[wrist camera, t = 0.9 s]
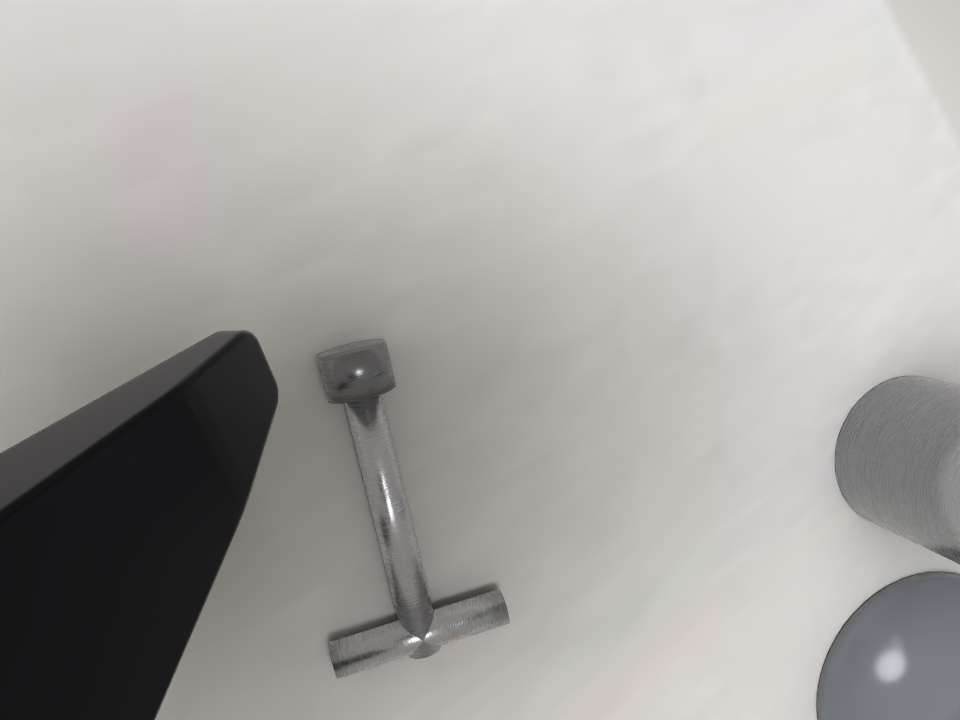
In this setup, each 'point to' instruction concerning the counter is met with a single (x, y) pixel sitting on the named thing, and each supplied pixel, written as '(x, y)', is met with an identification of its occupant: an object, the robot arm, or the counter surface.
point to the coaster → (897, 655)
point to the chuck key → (393, 525)
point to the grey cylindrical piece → (905, 461)
